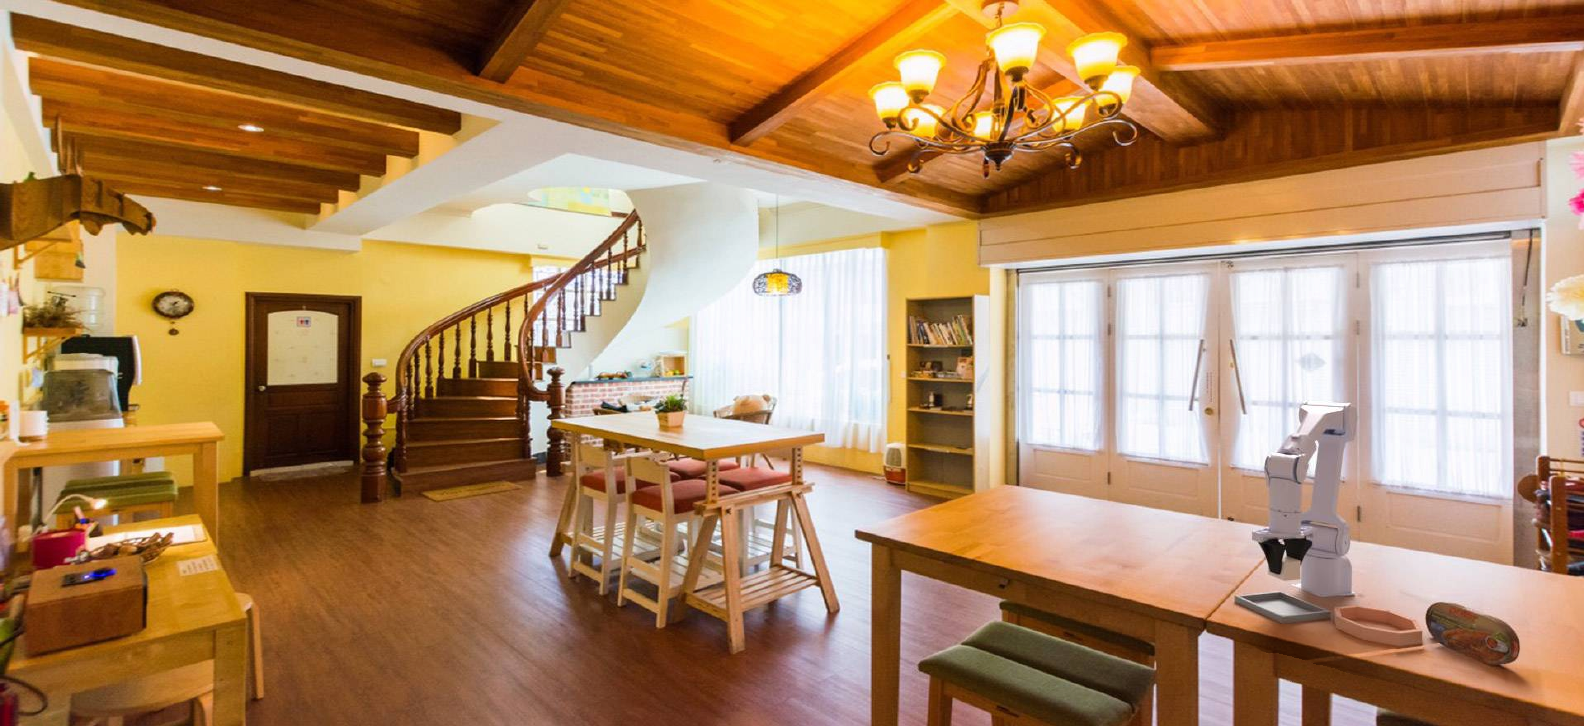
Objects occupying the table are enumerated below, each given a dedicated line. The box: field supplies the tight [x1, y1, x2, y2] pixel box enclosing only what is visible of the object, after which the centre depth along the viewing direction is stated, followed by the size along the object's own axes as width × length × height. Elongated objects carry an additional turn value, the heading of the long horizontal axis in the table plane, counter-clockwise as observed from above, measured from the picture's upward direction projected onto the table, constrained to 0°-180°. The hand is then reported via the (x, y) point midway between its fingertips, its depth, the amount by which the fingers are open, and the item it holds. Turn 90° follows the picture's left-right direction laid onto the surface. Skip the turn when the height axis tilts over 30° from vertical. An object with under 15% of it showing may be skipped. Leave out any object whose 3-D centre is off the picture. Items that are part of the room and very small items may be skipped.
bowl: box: [1333, 604, 1423, 650], centre depth 140 cm, size 13×13×3 cm
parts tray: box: [1234, 590, 1332, 625], centre depth 151 cm, size 12×12×2 cm
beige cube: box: [1267, 554, 1301, 582], centre depth 151 cm, size 4×4×4 cm
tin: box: [1424, 601, 1521, 666], centre depth 131 cm, size 15×3×8 cm, turn 5°
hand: (1284, 572), depth 151 cm, fingers closed on beige cube, 4 cm apart
